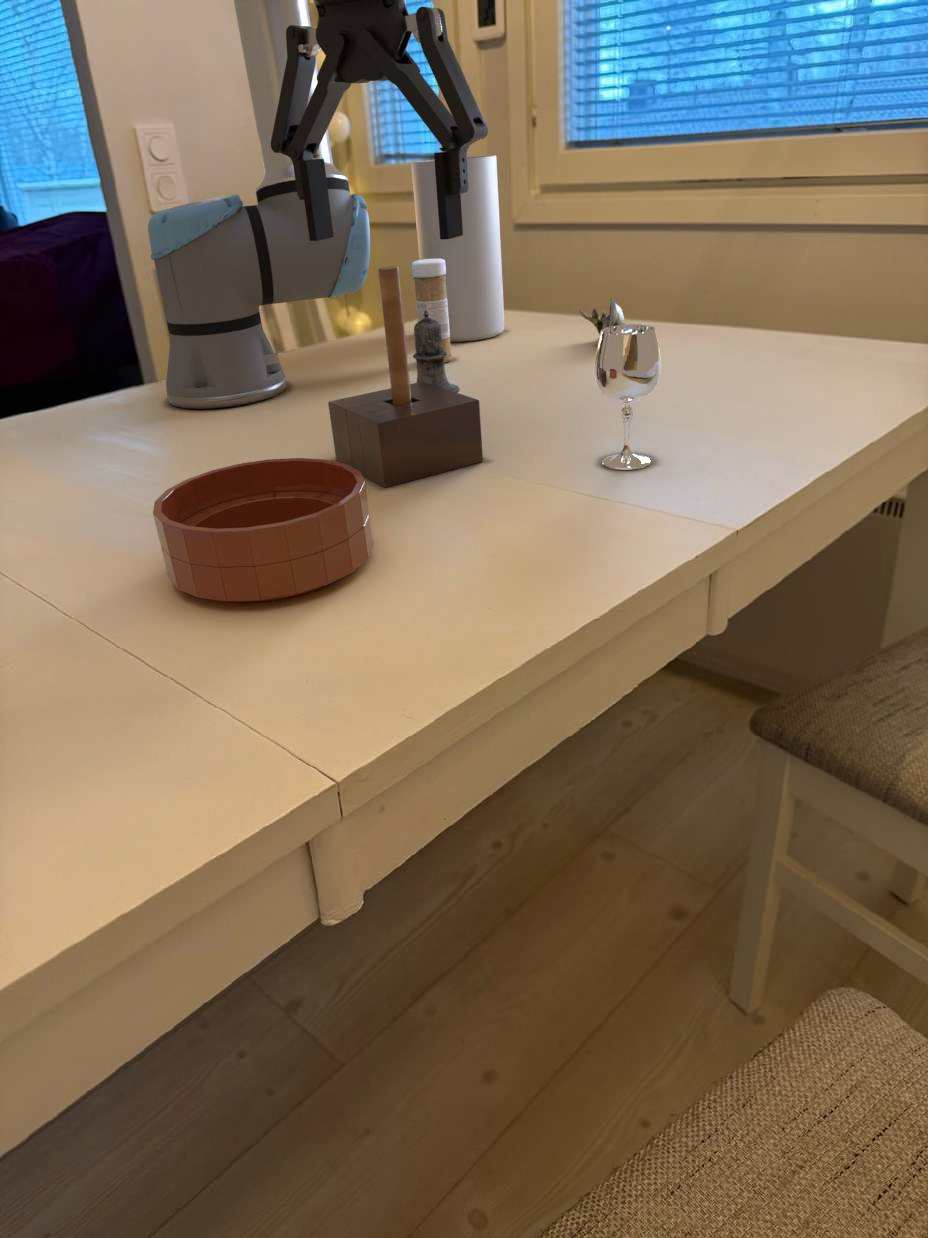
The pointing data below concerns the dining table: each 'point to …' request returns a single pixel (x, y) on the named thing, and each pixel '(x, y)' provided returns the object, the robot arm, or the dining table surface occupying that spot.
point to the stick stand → (406, 433)
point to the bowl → (264, 529)
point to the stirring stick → (395, 334)
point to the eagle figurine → (610, 320)
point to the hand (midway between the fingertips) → (384, 238)
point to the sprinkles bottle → (433, 296)
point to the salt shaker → (431, 354)
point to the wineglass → (627, 378)
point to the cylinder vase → (465, 248)
